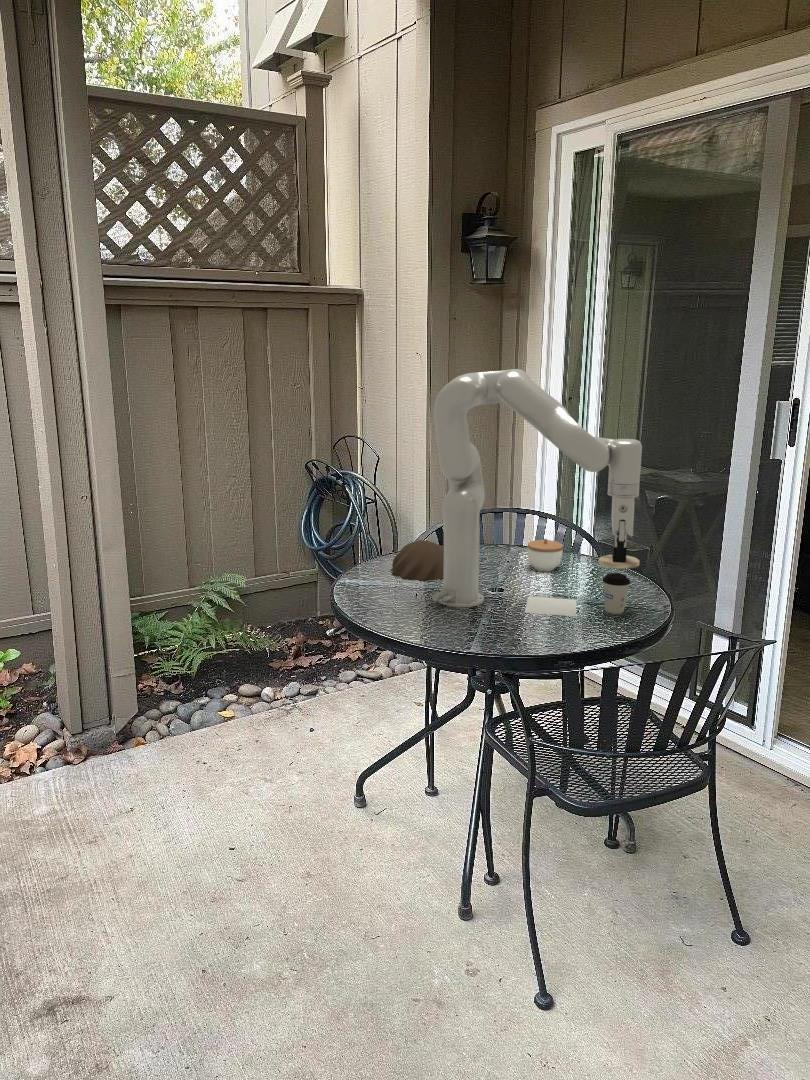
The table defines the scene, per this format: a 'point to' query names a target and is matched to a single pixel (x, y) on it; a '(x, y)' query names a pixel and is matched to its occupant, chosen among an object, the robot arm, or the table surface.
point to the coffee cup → (615, 592)
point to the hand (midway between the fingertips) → (618, 559)
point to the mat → (551, 606)
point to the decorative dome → (419, 561)
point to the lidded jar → (545, 554)
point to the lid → (608, 562)
